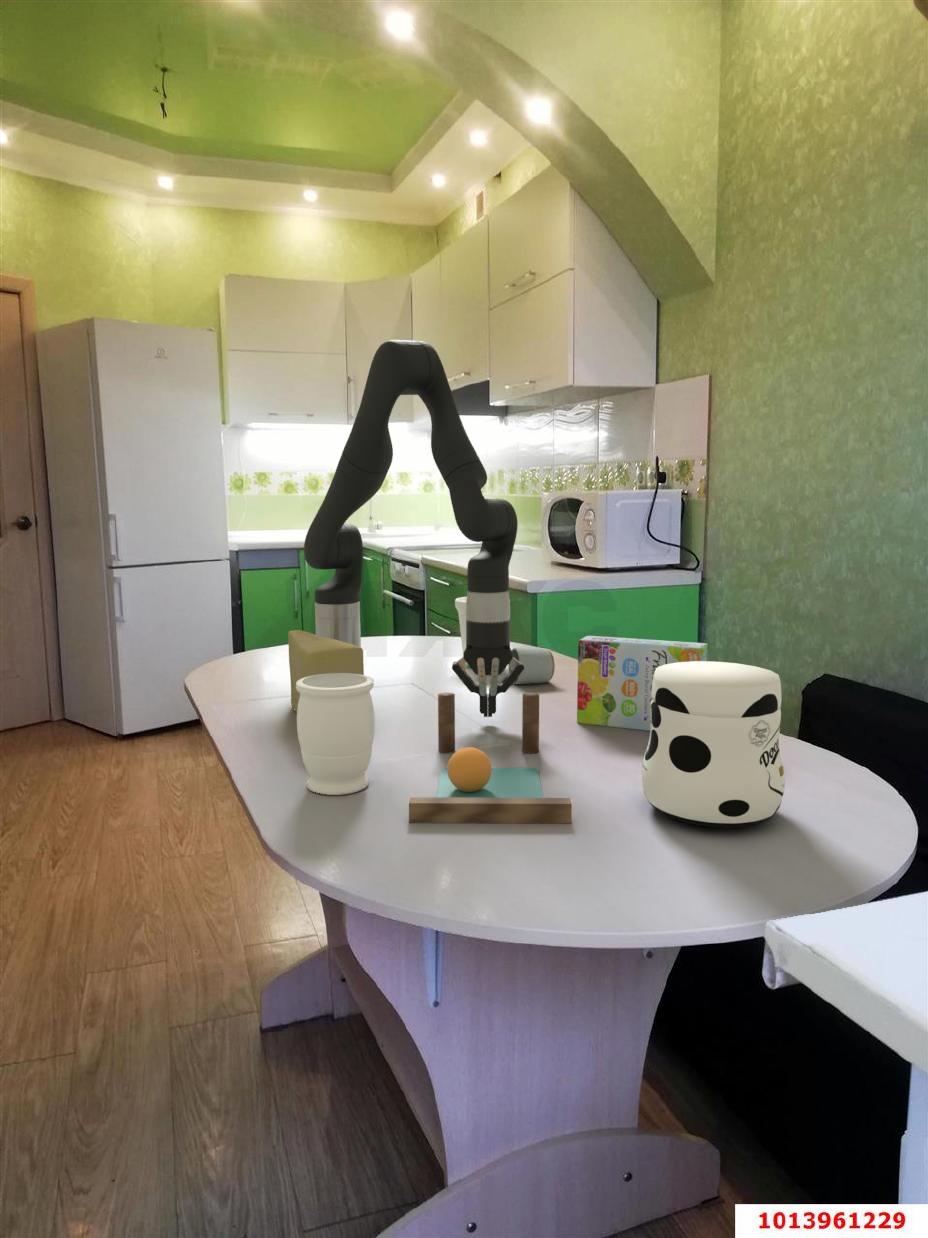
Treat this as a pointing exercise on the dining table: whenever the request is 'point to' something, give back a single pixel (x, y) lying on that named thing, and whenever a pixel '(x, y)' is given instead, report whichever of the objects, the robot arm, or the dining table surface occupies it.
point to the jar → (336, 731)
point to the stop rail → (489, 810)
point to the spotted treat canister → (714, 744)
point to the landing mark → (497, 785)
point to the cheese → (320, 658)
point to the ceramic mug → (534, 665)
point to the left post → (446, 722)
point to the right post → (530, 723)
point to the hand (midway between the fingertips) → (488, 715)
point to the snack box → (624, 677)
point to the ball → (469, 769)
